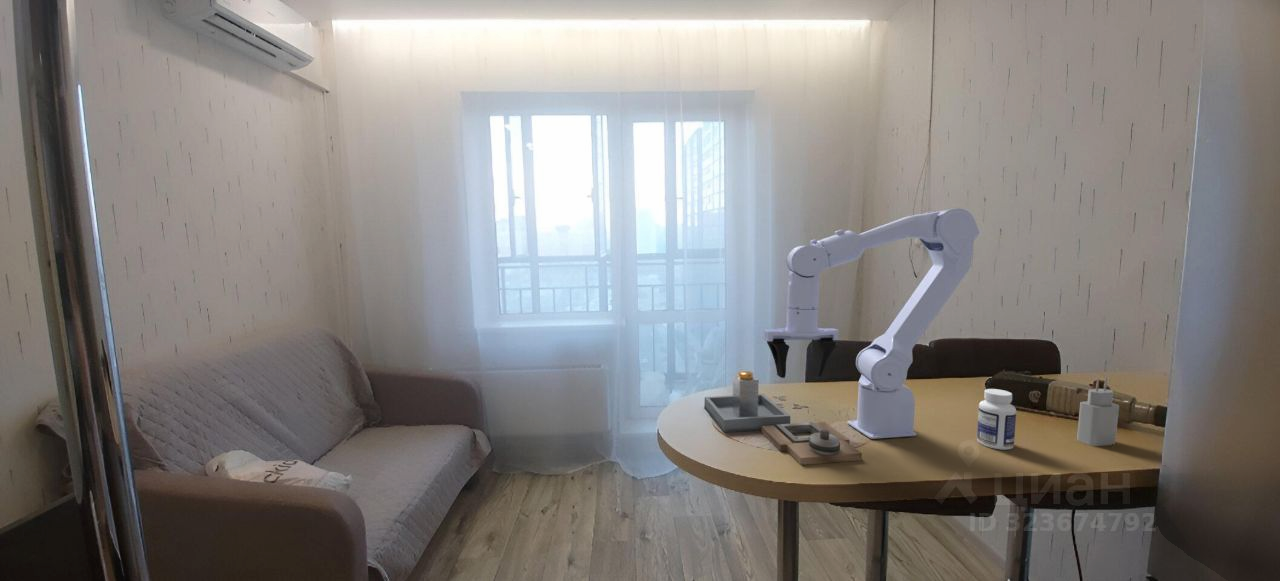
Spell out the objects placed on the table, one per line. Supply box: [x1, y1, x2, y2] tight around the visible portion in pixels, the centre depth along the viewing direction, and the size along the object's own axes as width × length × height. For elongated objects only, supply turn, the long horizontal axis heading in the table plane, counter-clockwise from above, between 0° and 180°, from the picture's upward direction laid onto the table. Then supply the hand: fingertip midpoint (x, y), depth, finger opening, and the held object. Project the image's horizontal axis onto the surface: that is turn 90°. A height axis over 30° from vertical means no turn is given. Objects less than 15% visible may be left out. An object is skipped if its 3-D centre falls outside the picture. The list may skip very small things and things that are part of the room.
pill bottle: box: [976, 388, 1017, 451], centre depth 85 cm, size 5×5×10 cm
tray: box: [703, 393, 791, 433], centre depth 99 cm, size 14×14×2 cm
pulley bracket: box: [760, 421, 863, 465], centre depth 85 cm, size 13×14×4 cm
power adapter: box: [1076, 377, 1120, 447], centre depth 85 cm, size 3×5×12 cm, turn 101°
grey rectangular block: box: [732, 370, 760, 418], centre depth 98 cm, size 4×4×9 cm
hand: (799, 375), depth 93 cm, fingers open, 7 cm apart
